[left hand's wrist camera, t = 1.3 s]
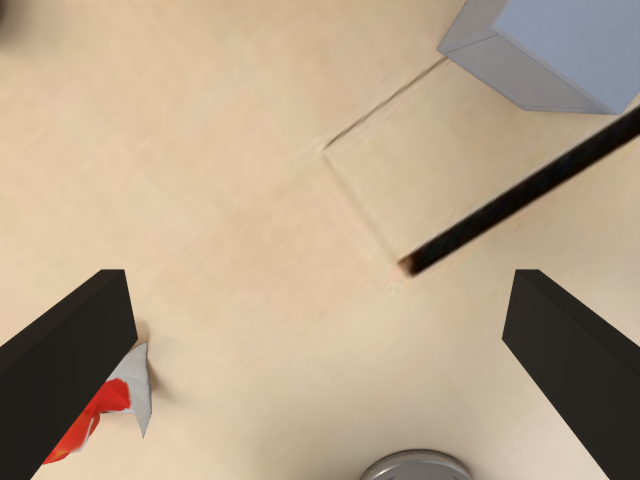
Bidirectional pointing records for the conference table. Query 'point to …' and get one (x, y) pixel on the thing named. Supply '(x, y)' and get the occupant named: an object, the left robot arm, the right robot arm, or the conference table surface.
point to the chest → (507, 63)
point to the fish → (112, 402)
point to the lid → (581, 44)
